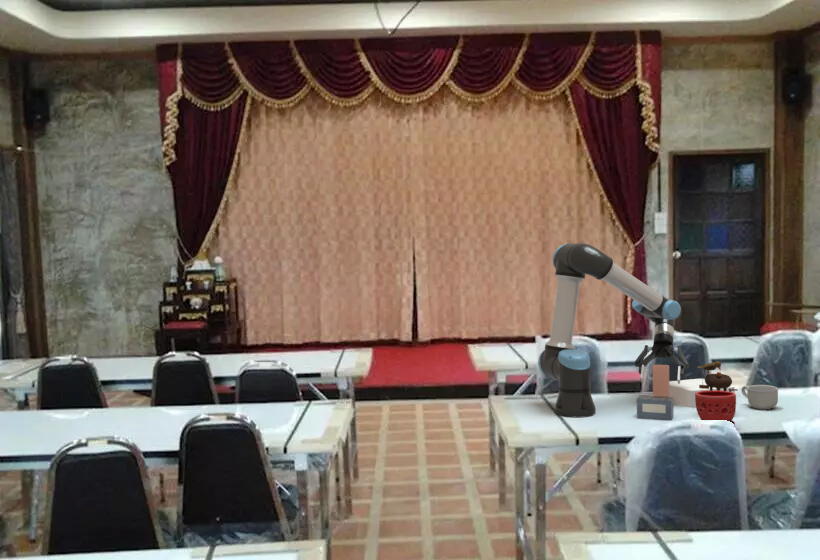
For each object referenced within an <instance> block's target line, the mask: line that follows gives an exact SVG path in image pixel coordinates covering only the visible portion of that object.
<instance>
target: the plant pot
mask: <svg viewBox="0 0 820 560" xmlns="http://www.w3.org/2000/svg"><path fill="white" fill-rule="evenodd" d="M695 402H696V412H697V415H698V417H699V420H727V421H730V422H732V423H733V424H734V426H735V425H736V422H735V421H734V417H735V414H736V405H737V394H736V393H733V392H728V391H700V392H696V393H695ZM702 404H703V406H702ZM715 404H717V405H715ZM706 406H707V407H706Z"/></svg>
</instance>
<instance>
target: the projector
mask: <svg viewBox="0 0 820 560" xmlns="http://www.w3.org/2000/svg"><path fill="white" fill-rule="evenodd" d="M702 382H703V385H707V384H706V383H705V378H693V379H682V380H681V379H680V384H678V380H669V397H673V402H674V403H673V404H676V403H677V405H680V406H683V407H687V408H692V409H695V408H696V402H695V393H696V392H700V391H702V388H699V385H702ZM735 387H736V386H735V385H732V384H731V386H730V387H728V388H727V389H726V391H728V392H729V388H730V389H736V388H735ZM703 391H710V387H709V389H703ZM713 391H717V388H713ZM720 391H724V388H721V389H720ZM731 392H733V393H735V391H732V390H731ZM735 394H736V393H735Z"/></svg>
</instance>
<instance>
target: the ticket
mask: <svg viewBox="0 0 820 560" xmlns="http://www.w3.org/2000/svg"><path fill="white" fill-rule="evenodd" d="M669 381H670V365H668V364H652V396H668V397H669Z"/></svg>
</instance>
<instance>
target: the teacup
mask: <svg viewBox="0 0 820 560" xmlns="http://www.w3.org/2000/svg"><path fill="white" fill-rule="evenodd" d="M746 389H747V390H746ZM746 391H747V392H746ZM740 392H741V394H742V395H743V396H744V397H745V398H746V399H747V402H748V404H749V405H750V406H751V407H752V408H754V409H756V408H757V409H756V410H761V409H768V410H772V409H773V408H774V407H776V406H777V404H778V403H779V400H778V399H779V388H778V387H777V386H774V385H769V384H753V385H743V386H742V387H741V391H740ZM771 408H772V409H771Z"/></svg>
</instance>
